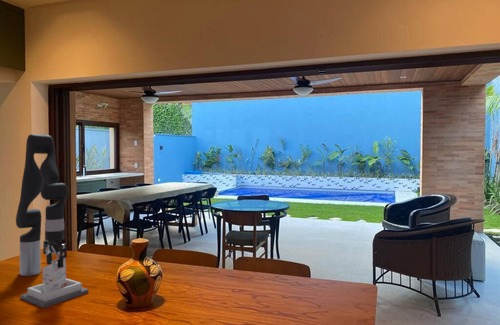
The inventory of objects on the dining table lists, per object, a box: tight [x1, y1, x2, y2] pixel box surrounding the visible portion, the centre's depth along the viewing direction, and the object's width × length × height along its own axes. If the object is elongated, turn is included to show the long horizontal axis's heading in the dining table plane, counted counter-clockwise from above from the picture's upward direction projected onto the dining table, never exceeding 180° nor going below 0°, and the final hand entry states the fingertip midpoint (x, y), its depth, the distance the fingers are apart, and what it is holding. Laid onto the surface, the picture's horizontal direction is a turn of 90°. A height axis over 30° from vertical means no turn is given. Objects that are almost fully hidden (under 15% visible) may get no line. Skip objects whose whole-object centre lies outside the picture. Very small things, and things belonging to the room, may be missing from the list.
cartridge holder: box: [20, 277, 89, 309], centre depth 163 cm, size 18×20×4 cm
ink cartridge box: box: [42, 258, 67, 293], centre depth 163 cm, size 9×5×15 cm, turn 166°
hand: (54, 265), depth 163 cm, fingers open, 8 cm apart
